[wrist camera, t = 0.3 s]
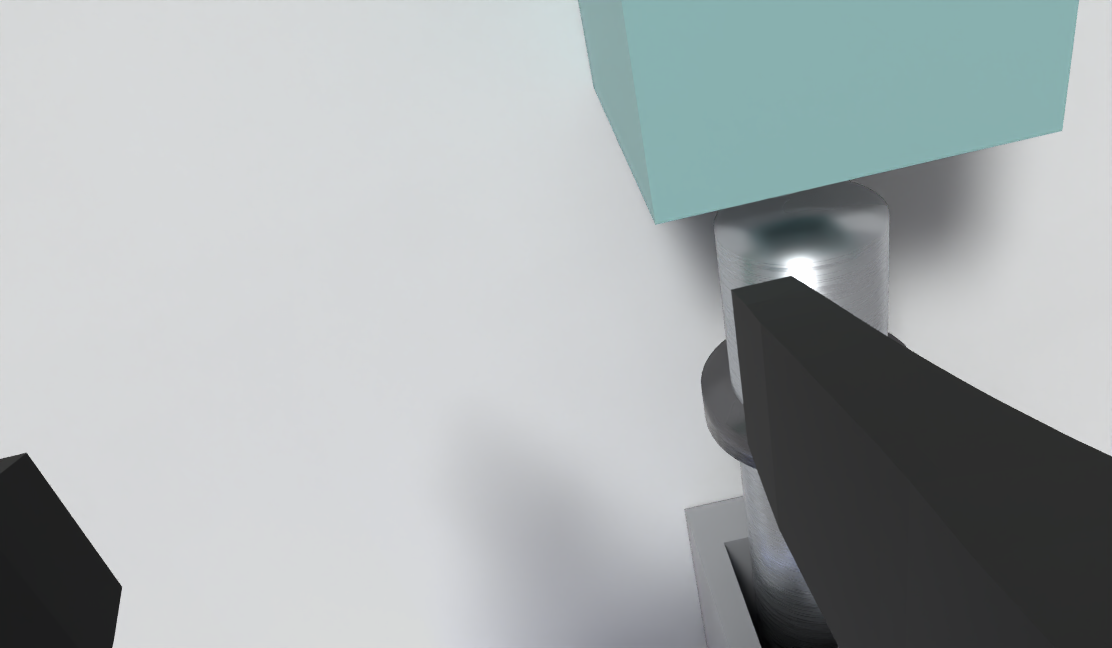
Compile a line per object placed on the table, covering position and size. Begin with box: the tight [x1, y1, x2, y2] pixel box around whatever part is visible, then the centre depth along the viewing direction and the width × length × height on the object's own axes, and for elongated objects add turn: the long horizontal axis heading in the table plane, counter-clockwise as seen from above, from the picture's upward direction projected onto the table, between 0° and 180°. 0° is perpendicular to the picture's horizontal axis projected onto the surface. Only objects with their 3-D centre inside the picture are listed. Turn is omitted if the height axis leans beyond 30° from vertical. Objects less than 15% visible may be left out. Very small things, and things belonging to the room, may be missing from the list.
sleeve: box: [684, 496, 839, 648], centre depth 23 cm, size 6×5×6 cm
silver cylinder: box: [701, 181, 908, 648], centre depth 20 cm, size 15×4×4 cm, turn 11°
